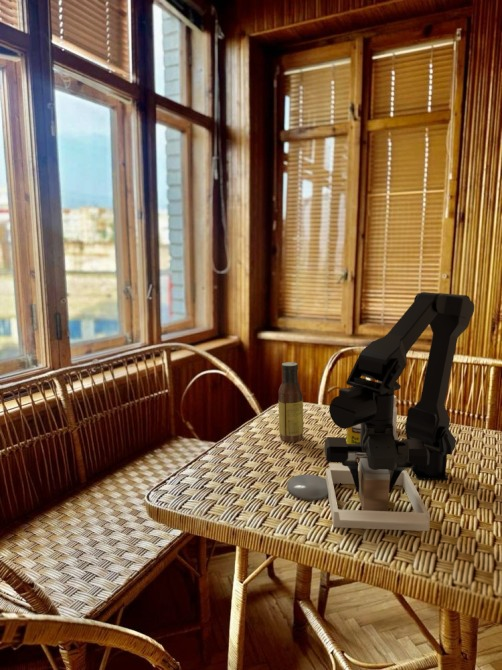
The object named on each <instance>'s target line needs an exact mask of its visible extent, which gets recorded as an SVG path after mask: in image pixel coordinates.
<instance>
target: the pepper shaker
mask: <svg viewBox="0 0 502 670" xmlns="http://www.w3.org/2000/svg"><path fill="white" fill-rule="evenodd" d="M396 404H397V396H396V395H395V394H394V408H393V424H394V427H395V430H396V431H397V420H398V419H397V417H398V407H397V406H396Z"/></svg>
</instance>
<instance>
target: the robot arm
mask: <svg viewBox="0 0 502 670" xmlns="http://www.w3.org/2000/svg"><path fill="white" fill-rule="evenodd" d="M471 300H472V299H471V298H470V296H468V295H467V294H457V293H456V294H455V293H452V294H451V293H443V292H438V293H437V292H429V291H428V292H427V291H421V292H418V293H417V294H416V295H415V297H414V299H413V302H412V303H411V305H410V306H409V307H408V308H407V310H406V311H405V312H404V313H403V314H402V316H401V317H400V318H399V319H398V320H397V322H395V324H394V326H392V328H391V329H390V330H389V331H388V333H386V334H385V335H384V336H382V337H380V338H378V339H375V340H373V341H372V342H370V343H369V344H368V345H367V346H365V348H363V349H362V350H361V351H360V353H359V355H358V357H357V359H356V361H355V362H354V365H353V366H352V369H351V371H350V374H349V376H348V378H347V380H346V383H345V385H347V386H350V387H343V388H340V389H339V390H338V395H337V396H335V397H334V398H333V399H332V400H331V402H330V404H329V406H328V411H329V415H330V418H331V420H332V422H333V423H334V424H335V426H337V427H339V429H343V430H347V428H350V427H353V426H356V425H358V424H361V434H360V444H347V442H346V439H347V438H346V437H342V436H341V437H340V436H336V437H335V436H327V437H326V438H325V440H324V448H323V449H324V455H325V460H326V462H328V463H342V465H343V466H348V468H349V470H350V472H351V474H352V477H353V480H354V484H353V485H354V487H355V490H356V493H358V492H359V475H358V464H359V463H358V459H357V457H356V455H367V456H366V458H367V460H368V466H369V468H371V469H373V470H378V469H387V470H388V471H389V473H390V485H389V494H391V493H392V490H393V489H394V487H395V486H396V485H395V483H396V481H397V479H398V477H399V475H400V474H401V472H402V471H406V469H411V471H412V473H414V475H415V477H416V478H417V480H435V481H436V480H437V481H448V480H449V477H448V475H447V474H446V472H447V460H448V455H453V451H454V450H455V448H456V443H457V439H456V438H455V436H454V435H453V433H452V432H451V430H450V422H451V418H450V415H449V413H448V410H447V409H446V406H445V405H446V404H445V403H446V398H447V394H448V393H447V392H448V388H449V383H450V379H451V374H452V368H453V364H454V358H455V355H456V354H455V353H456V349H457V342H458V339H459V337H460V336H461V335H462V334H463V333H464V332H465V331H466V329H468V327H469V325H470V321H471V318H472V317H473V315H474V312H475V304H474V302H473V301H471ZM428 326H429V327H430V329H431V333H432V336H431V343H430V348H429V353H428V358H427V363H426V368H425V372H424V373H425V374H424V378H423V383H422V388H421V394H420V398H419V401H418V402H416V403H415V405H414V406H410V407H409V408H408V409H407V415H406V416H407V417H406V420H405V423H404V429H405V431H404V432H405V435H406V438H402V439H401V440H399V441H398V440H395V438H394V435H393V408H394V395H395V391H398V390H401V388H402V386H401V385H400V384H399V382H397V381H398V380H399V378H400V377H401V376H402V374H403V372H404V370H405V368H406V366H407V365H408V364H407V363H408V361H407V359H408V358H407V357H408V356H407V354H408V353H409V351H410V350H411V348H412V347H413V346H414V344H416V342H417V341H418V340H419V338H420V337H421V336H422V334H423V333H424V332H425V331H426V329H427V328H428ZM362 377H364V378H362ZM367 378H368V379H367ZM373 380H375V381H373Z"/></svg>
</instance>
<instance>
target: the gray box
mask: <svg viewBox="0 0 502 670" xmlns="http://www.w3.org/2000/svg"><path fill="white" fill-rule="evenodd" d="M359 464H360V466H359V492H357V493H358V494H357V495H358V498H359V502H360V505H361V509H362V510H364V511H389V499H390V493H389V485H390V473H389V471H388V470H387V469H378V470H373V469H371V468H369V466H368V460H367V457H362V458H359Z"/></svg>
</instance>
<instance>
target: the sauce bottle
mask: <svg viewBox="0 0 502 670" xmlns="http://www.w3.org/2000/svg"><path fill="white" fill-rule="evenodd" d="M298 365H299V364H298V363H296V362H294V361H287V362H283V363H282V364H281V370H282V382H281V384H280V386H279V389H278V430H279V431H278V432H279V438H280V439H281V440H282V441H284V442H289V443H296V442H299V441H302V439H303V438H304V436H303V435H304V399H303V397H304V396H303V392H302V390H301V387H300V383H299V381H298V380H299V379H298V369H299V366H298Z"/></svg>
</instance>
